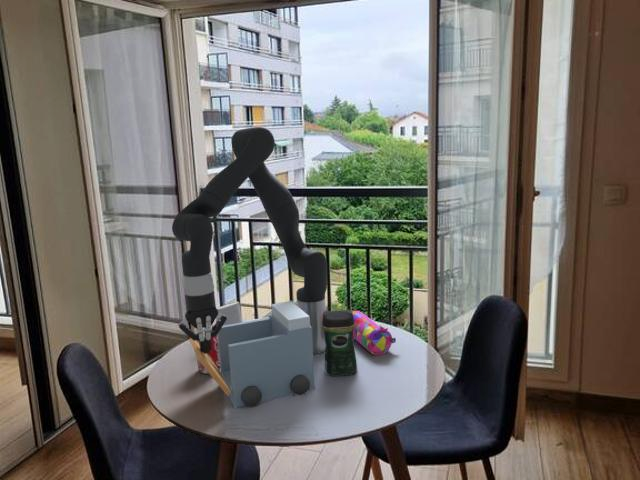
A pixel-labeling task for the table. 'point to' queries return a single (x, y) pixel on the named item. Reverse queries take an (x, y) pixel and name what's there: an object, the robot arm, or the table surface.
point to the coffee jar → (339, 342)
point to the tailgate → (210, 367)
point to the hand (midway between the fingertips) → (206, 352)
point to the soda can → (211, 355)
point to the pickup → (268, 356)
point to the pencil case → (371, 334)
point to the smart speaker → (231, 313)
